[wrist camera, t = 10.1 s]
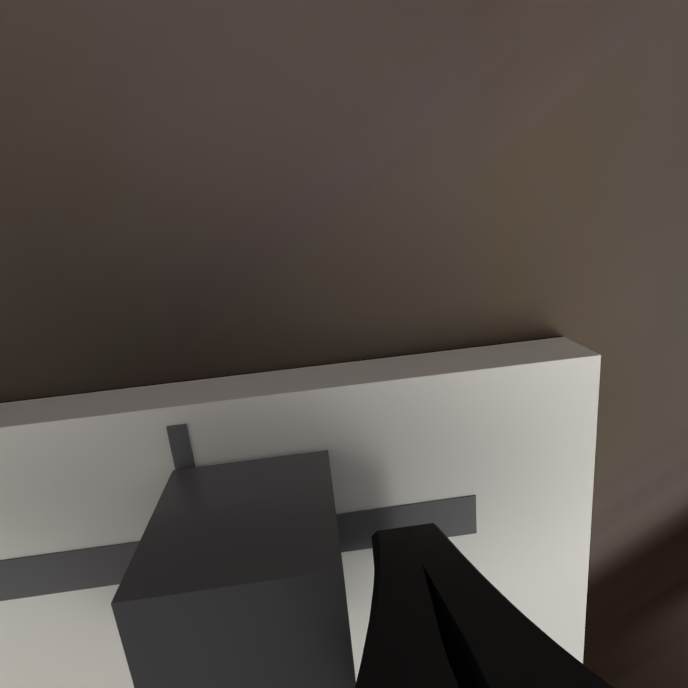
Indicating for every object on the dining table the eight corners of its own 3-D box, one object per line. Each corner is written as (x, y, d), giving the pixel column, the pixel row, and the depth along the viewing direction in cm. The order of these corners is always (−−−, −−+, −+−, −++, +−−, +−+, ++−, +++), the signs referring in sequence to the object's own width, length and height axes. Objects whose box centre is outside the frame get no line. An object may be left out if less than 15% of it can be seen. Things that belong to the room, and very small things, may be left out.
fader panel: (548, 774, 16) (573, 832, 15) (-21, 874, 15) (-56, 949, 13) (564, 336, 12) (602, 355, 10) (-227, 429, 11) (-312, 466, 9)
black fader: (346, 618, 11) (367, 789, 8) (209, 639, 11) (172, 822, 8) (327, 450, 10) (342, 569, 7) (172, 469, 10) (110, 603, 7)
